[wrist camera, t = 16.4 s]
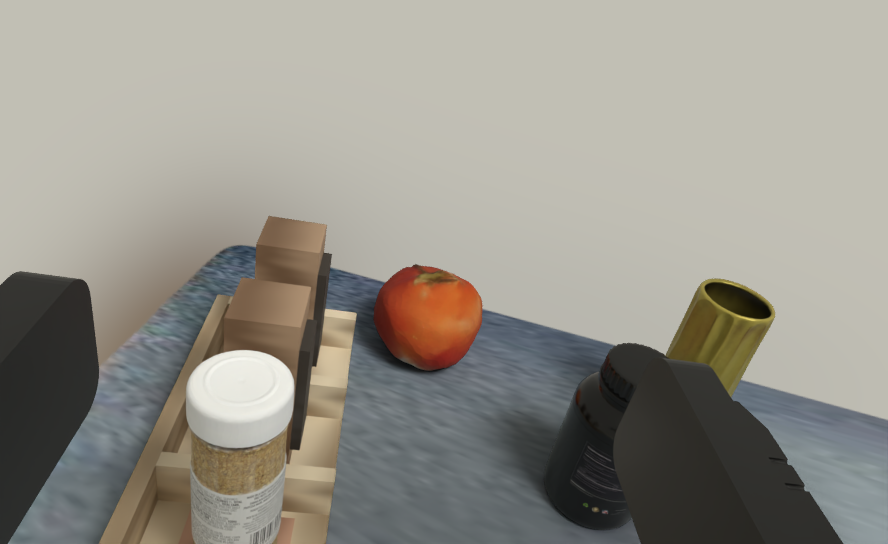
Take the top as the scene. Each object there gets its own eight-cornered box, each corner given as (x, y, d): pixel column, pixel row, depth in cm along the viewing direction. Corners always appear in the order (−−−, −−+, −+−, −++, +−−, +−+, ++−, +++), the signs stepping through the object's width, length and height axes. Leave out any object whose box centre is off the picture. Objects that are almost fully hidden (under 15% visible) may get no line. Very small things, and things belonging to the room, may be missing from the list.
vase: (649, 404, 55) (717, 267, 47) (712, 450, 51) (796, 310, 44) (611, 432, 51) (678, 287, 43) (677, 483, 47) (762, 335, 40)
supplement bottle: (545, 444, 48) (594, 319, 42) (632, 472, 47) (695, 349, 41) (536, 515, 42) (591, 383, 36) (635, 548, 41) (709, 419, 35)
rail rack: (350, 350, 53) (371, 215, 46) (309, 663, 31) (336, 494, 25) (217, 334, 51) (218, 191, 45) (79, 650, 30) (42, 467, 23)
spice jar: (249, 513, 37) (259, 334, 30) (294, 569, 34) (316, 388, 27) (173, 557, 34) (165, 369, 27) (217, 622, 31) (221, 434, 24)
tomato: (466, 395, 51) (489, 317, 47) (357, 371, 51) (370, 290, 47) (474, 330, 59) (494, 258, 55) (379, 308, 59) (392, 235, 55)
